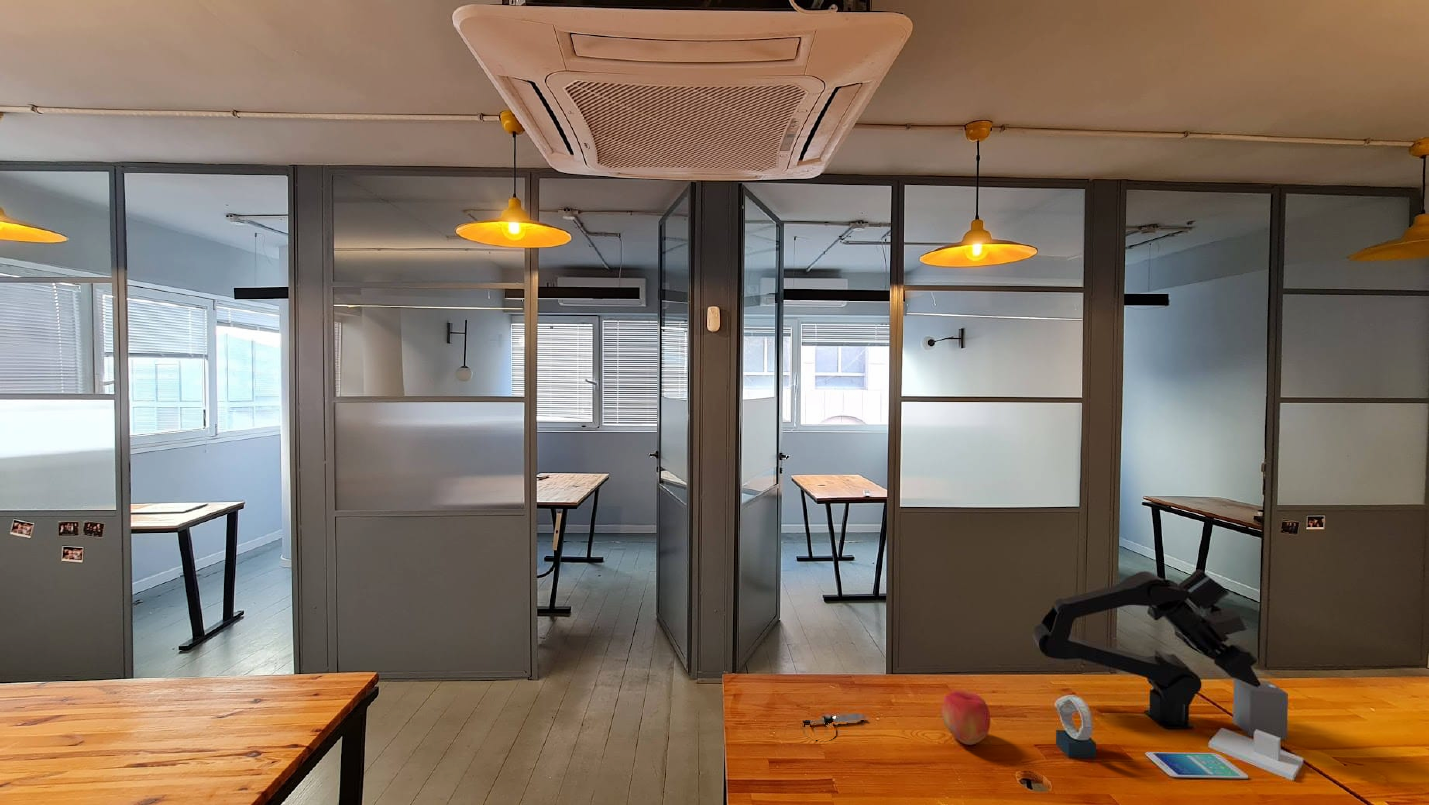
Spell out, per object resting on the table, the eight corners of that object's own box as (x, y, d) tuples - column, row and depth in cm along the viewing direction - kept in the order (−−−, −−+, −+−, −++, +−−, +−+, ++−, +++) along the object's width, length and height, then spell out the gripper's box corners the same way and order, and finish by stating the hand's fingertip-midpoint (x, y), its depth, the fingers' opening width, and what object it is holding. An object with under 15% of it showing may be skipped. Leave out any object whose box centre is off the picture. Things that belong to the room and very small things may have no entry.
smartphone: (1251, 777, 108) (1171, 776, 109) (1251, 782, 108) (1171, 780, 109) (1217, 753, 116) (1143, 751, 116) (1217, 757, 116) (1143, 755, 116)
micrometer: (809, 745, 120) (809, 733, 120) (799, 725, 127) (799, 714, 127) (876, 739, 122) (876, 727, 122) (862, 719, 129) (863, 708, 129)
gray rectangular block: (1249, 735, 122) (1250, 689, 122) (1232, 722, 127) (1233, 677, 127) (1286, 739, 121) (1288, 692, 120) (1268, 725, 126) (1269, 680, 125)
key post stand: (1208, 747, 118) (1209, 723, 118) (1221, 732, 123) (1222, 709, 123) (1292, 781, 108) (1293, 755, 108) (1303, 763, 113) (1303, 738, 113)
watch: (1076, 739, 121) (1076, 688, 121) (1101, 763, 113) (1102, 709, 113) (1050, 738, 121) (1050, 688, 121) (1073, 763, 113) (1074, 709, 113)
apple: (996, 757, 115) (996, 709, 115) (946, 751, 117) (947, 703, 117) (983, 729, 124) (984, 684, 124) (937, 724, 126) (938, 680, 126)
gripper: (1247, 614, 116) (1309, 673, 114) (1190, 583, 134) (1244, 633, 132) (1201, 648, 118) (1262, 706, 116) (1152, 613, 136) (1204, 663, 134)
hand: (1243, 675), depth 124 cm, fingers open, 9 cm apart
